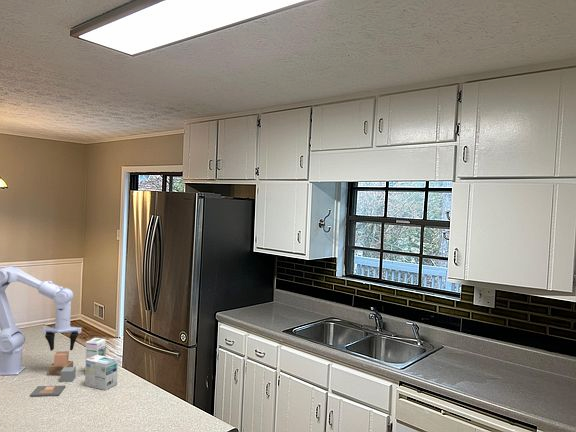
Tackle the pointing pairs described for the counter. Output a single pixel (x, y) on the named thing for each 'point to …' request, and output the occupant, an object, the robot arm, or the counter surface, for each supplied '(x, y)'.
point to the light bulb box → (101, 372)
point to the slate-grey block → (68, 374)
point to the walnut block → (58, 369)
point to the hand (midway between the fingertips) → (61, 349)
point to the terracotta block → (61, 358)
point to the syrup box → (95, 347)
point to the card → (47, 391)
